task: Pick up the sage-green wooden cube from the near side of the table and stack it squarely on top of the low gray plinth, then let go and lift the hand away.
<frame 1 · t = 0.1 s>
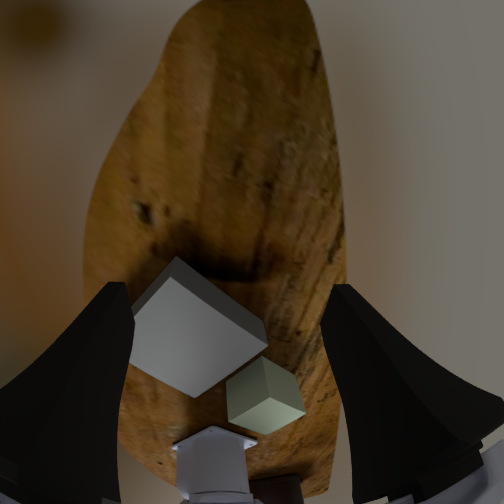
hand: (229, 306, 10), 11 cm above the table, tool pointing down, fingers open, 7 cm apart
green cube: (260, 378, 27), on the table
gray plinth: (186, 324, 23), on the table
manual coffee grinder: (273, 479, 43), on the table
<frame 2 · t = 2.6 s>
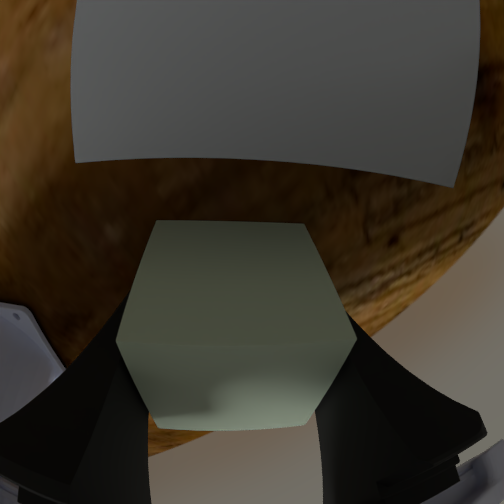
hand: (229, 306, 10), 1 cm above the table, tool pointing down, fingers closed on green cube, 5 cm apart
green cube: (228, 279, 11), on the table, touching gripper
when the fingers open (6 cm above the table, at t = 6.0 s): green cube drops 1 cm, resting on gray plinth.
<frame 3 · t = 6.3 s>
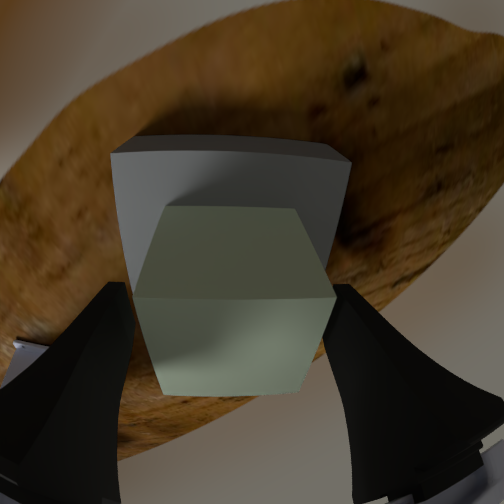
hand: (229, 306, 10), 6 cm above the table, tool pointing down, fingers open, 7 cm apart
green cube: (228, 260, 12), point 3 cm above the table, touching gray plinth
gray plinth: (226, 222, 14), on the table
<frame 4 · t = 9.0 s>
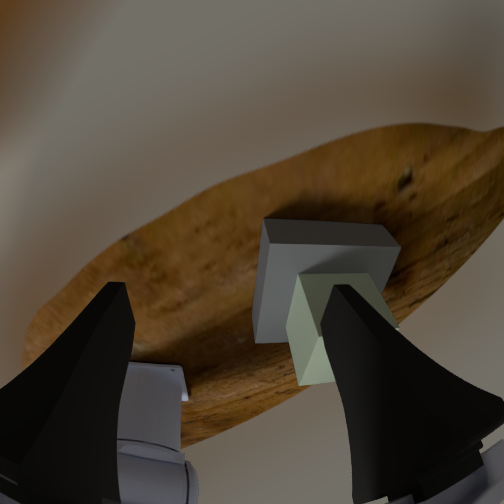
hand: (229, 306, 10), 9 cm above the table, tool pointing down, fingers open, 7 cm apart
green cube: (325, 301, 19), point 3 cm above the table, touching gray plinth
gray plinth: (314, 273, 22), on the table
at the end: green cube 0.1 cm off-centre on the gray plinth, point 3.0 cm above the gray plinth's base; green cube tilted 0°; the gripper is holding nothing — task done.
